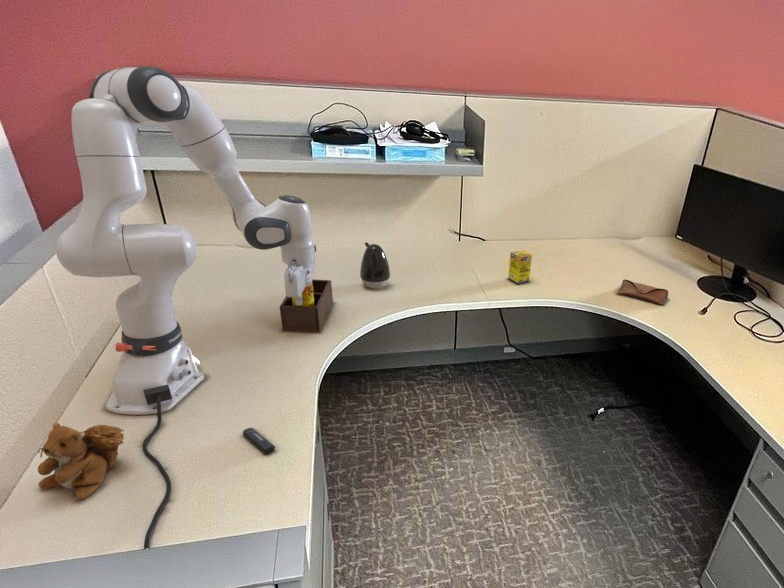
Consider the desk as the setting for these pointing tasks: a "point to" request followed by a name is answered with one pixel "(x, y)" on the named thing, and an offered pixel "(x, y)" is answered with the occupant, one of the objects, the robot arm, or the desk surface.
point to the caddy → (308, 310)
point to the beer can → (307, 293)
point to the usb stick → (258, 440)
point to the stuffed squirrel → (79, 457)
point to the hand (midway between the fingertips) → (302, 298)
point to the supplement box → (519, 267)
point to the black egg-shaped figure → (374, 267)
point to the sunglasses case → (643, 292)
